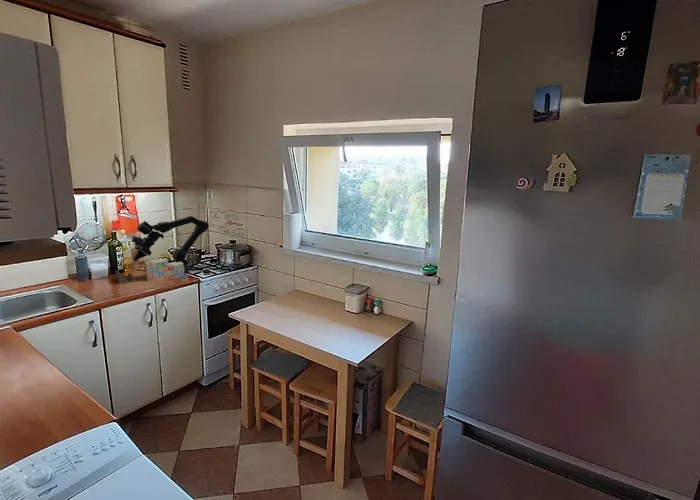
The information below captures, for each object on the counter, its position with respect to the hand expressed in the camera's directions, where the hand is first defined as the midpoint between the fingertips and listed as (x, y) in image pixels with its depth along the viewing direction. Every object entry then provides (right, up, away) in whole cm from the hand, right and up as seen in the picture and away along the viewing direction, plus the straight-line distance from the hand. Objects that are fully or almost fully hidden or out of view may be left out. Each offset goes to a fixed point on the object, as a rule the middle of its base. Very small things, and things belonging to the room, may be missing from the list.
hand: (132, 259), depth 227 cm
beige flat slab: (+1, -6, +2) cm, 6 cm away
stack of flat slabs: (-4, -13, 0) cm, 14 cm away
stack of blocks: (+16, -13, +8) cm, 22 cm away
